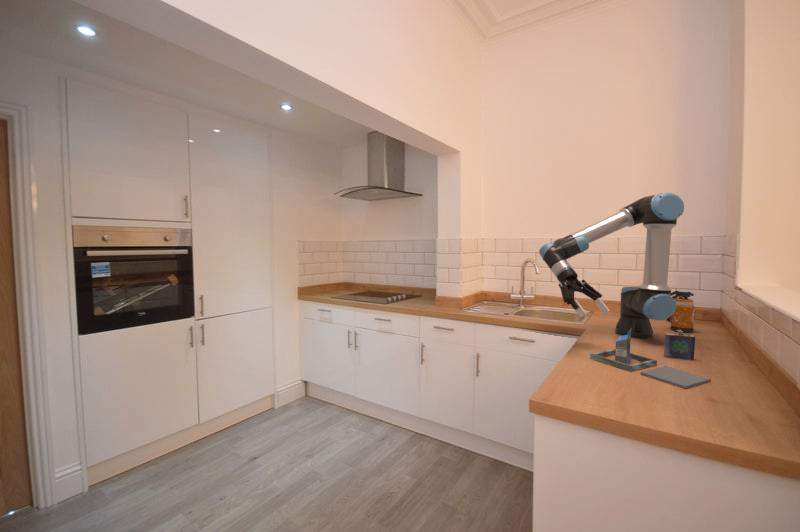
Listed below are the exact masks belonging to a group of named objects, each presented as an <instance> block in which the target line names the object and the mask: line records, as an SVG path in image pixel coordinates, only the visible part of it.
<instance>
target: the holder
mask: <svg viewBox="0 0 800 532" xmlns="http://www.w3.org/2000/svg"><path fill="white" fill-rule="evenodd" d="M615 349H616V348H614V349H608V350H604V351H599V352H592V353H590V354H589V357H590V358H589V359H591V360H593V361H596V362H599V363H603V364H605V363H606V364H605V365H608V364H609V366H611V365H612V367H615V368H618V369H622V370H624V371H628V372H633V371H639V370H642V369H647V368H651V367H655V366H658V360H657V359H654V358H649V357H646V356H644V355H641V354H635V353H633V352H630V360H634V361H637V360H638V363H637V362H636V363H633V364H629V363H628V364H624V363H621V362H618V361H615V359H611V358H608V357H611V355H612V356H615ZM606 356H607V357H606Z"/></svg>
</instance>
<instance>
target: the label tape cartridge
mask: <svg viewBox="0 0 800 532" xmlns="http://www.w3.org/2000/svg"><path fill="white" fill-rule="evenodd" d="M631 329H632V328H631ZM631 329H630V330H629V332H628V335H624V336H623V335H620V336H619V337H618V338H617V339H616V341H615V348H614V349H615V355H614V360H615V361H618V362H621V363H624V364H628V365H629V363H630V361H631V358H630V353H631V338H632V337H631ZM629 333H630V334H629Z"/></svg>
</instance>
